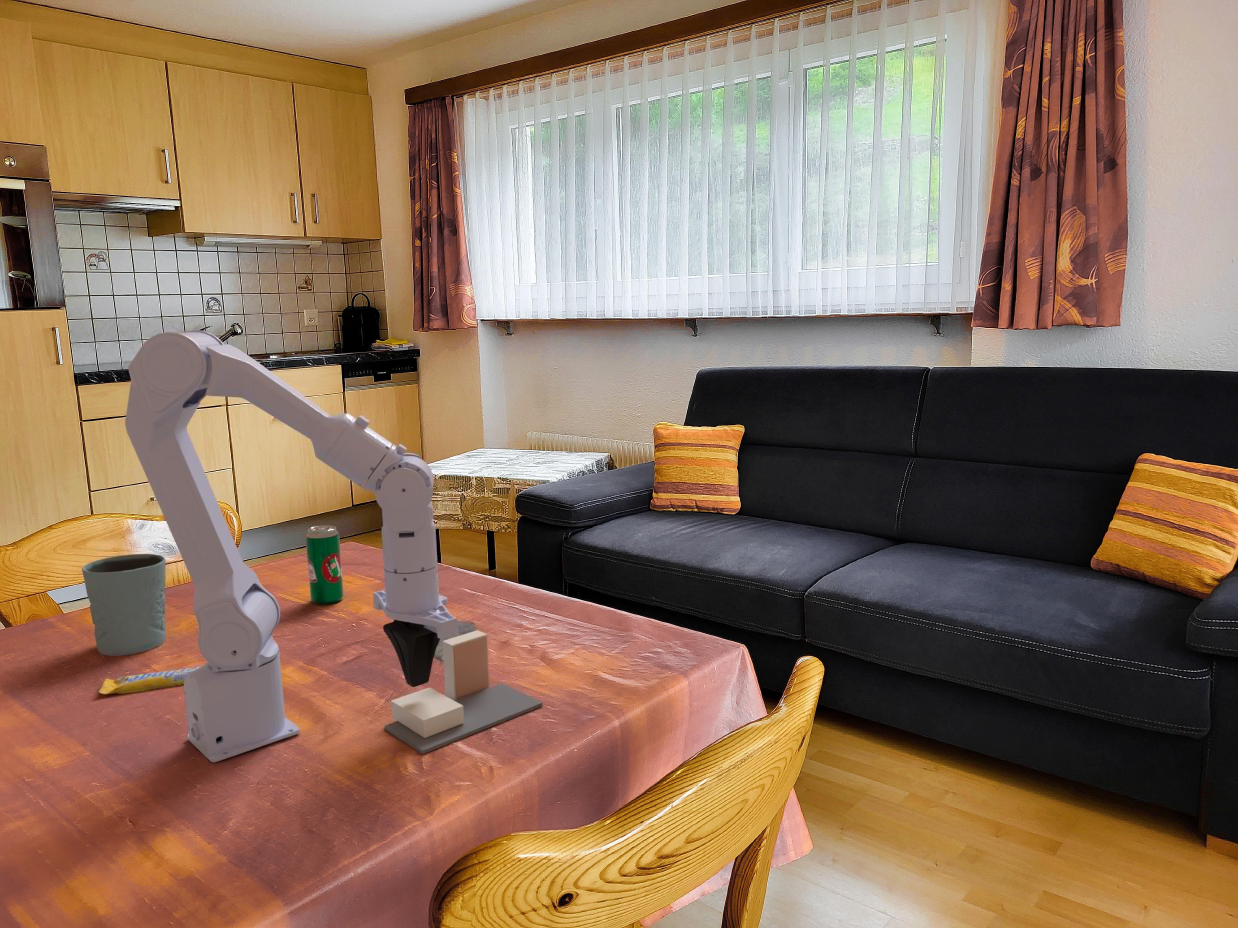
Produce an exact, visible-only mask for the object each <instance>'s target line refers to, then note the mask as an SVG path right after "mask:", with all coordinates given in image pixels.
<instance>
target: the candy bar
mask: <svg viewBox="0 0 1238 928" xmlns="http://www.w3.org/2000/svg"><path fill="white" fill-rule="evenodd" d="M202 666H203V665H202ZM202 666H195V667H190V668H181V669H173V670H165V671H157V672H149V673H141V674H133V675H125V676H121V677H118V678H115V679H110V678H105V679H104V681H103V683H102V684H101V688H99V690H98V693H99V694H102V695H108V694H109V695H110V694H131V693H139V692H145V690H146V691H151V690H150V689H153V690H158V689H157V688H159V689H163V688H164V687H165V688H170V687H169V686H172V687H174V686H173V685H179V684H180V685H179V686H182V685H181V684H184V678H185V675H186V674H187V673H189V672H191V671H194V670H196V669H198V668H200V667H202ZM138 691H139V692H138Z"/></svg>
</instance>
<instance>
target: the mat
mask: <svg viewBox="0 0 1238 928" xmlns="http://www.w3.org/2000/svg"><path fill="white" fill-rule="evenodd" d="M454 701H455V702H457V703H459V704H461V705H463V710H464V723H462V724H460V725H458V726H455V727H453V728H450V729H448V730H445V731H442V732H440V733H437V734H435V735H432V736H430V737H427V738H424V737H422V736H421V735H419V734H418V733H416V732H414V731H413V730H411V729H410V728H408V727H406V726H405V725H403V724H402V723H400V722H398V721H397V720H395V721H393V722H391V723H389V724H386V725H384V727H383V728H384V730H385V731H387V732H388V733H390V734H391V735H393V736H395V737H396V738H397V739H398V740H401V741H402V742H403V743H405V744H406V745H408V746H410V747H411V748H412V749H413V750H416V751H417V752H419V753H420V754H422V755H424V754H427V753H429V752H431V751H434V750H437V749H439V748H442V747H444V746H447V745H448V744H452V743H454V742H456V741H459V740H462V739H464V738H466V737H468V736H471V735H474V734H476V733H479V732H481V731H484V730H486V729H488V728H491V727H494V726H496V725H499V724H501V723H504V722H506V721H508V720H511V719H513V718H516V717H518V716H521V715H523V714H526V713H528V712H530V711H534V710H537V709H539V708H541V707H543V706H544V705H543V704H544V703H543V702H542V701H540V700H538V699H536V698H534V697H532V696H530V695H528V694H526V693H524V692H521V691H520V690H518V689H515V688H514V687H512V686H510V685H508V684H506V683H503V682H500V683H497V684H495V685H492V686H490V687H489V688H486V689H484V690H481V691H478V692H475V693H473V694H470V695H467V696H464V697H462V698H459V699H456V700H454Z"/></svg>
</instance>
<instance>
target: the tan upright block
mask: <svg viewBox="0 0 1238 928" xmlns="http://www.w3.org/2000/svg"><path fill="white" fill-rule="evenodd" d="M488 645H489V644H488V634H487V633H486V632H482V631H480V630H479V629H478V630H475V631H473V632H470V633H467V634H464V635H460V636H457V637H454V638H451V639H448V640H444V641H443V659H444V664H443V673H444V674H443V675H444V688H445V689H444V693H445V694H444V695H445V696H446V697H448V698H450V699H452V700H456V699H459V698H462V697H464V696H467V695H470V694H473V693H475V692H478V691H481V690H484V689H486V688H489V687H491V686H490V671H489V649H488V648H489V647H488Z"/></svg>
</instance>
